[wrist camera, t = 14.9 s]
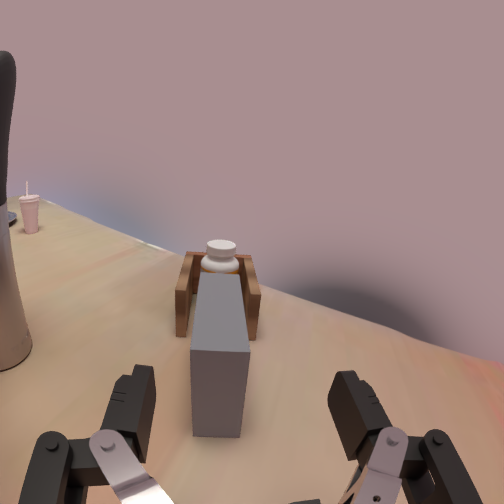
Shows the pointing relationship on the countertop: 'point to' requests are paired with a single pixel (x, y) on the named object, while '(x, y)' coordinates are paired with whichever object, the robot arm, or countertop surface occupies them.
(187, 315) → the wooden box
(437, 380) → the countertop surface
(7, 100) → the robot arm
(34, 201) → the smoothie
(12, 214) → the ceramic plate
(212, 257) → the supplement bottle
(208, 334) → the grey rectangular box
